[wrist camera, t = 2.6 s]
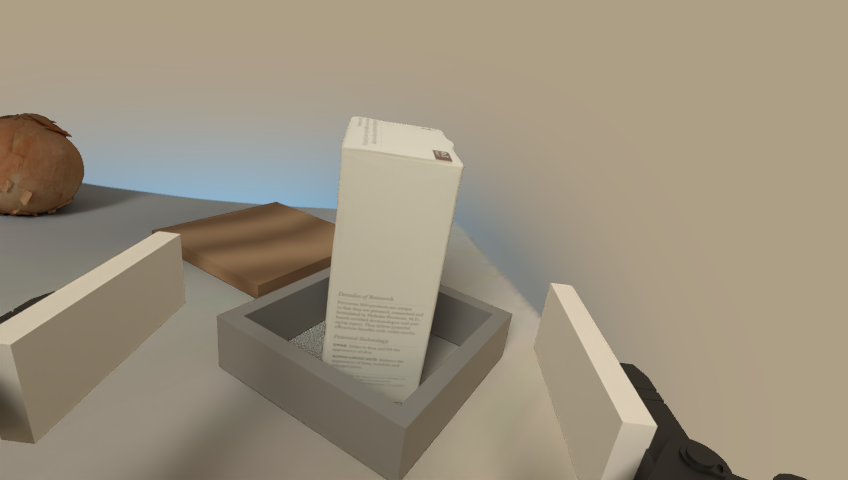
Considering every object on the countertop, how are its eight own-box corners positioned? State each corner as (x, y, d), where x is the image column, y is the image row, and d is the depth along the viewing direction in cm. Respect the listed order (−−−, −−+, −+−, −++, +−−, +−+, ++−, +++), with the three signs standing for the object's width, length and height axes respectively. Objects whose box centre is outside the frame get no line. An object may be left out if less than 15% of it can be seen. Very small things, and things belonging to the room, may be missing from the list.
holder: (219, 366, 27) (217, 316, 25) (358, 290, 37) (362, 252, 36) (396, 485, 21) (405, 429, 19) (501, 356, 31) (512, 313, 30)
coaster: (153, 242, 40) (152, 230, 40) (276, 211, 52) (276, 201, 51) (258, 299, 34) (258, 285, 33) (371, 249, 45) (372, 239, 45)
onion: (65, 225, 48) (94, 136, 49) (67, 233, 41) (100, 129, 41) (-61, 198, 42) (-25, 98, 42) (-86, 202, 34) (-43, 81, 35)
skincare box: (331, 322, 32) (346, 113, 27) (413, 327, 33) (443, 126, 28) (317, 406, 25) (333, 137, 19) (424, 410, 26) (469, 154, 20)
